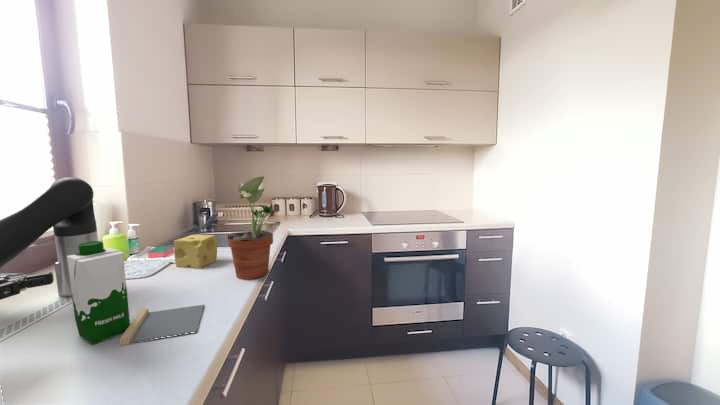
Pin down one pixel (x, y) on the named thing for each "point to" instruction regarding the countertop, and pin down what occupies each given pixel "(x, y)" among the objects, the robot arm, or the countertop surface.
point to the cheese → (195, 251)
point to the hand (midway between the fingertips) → (52, 277)
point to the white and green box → (99, 291)
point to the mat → (162, 324)
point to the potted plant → (252, 238)
